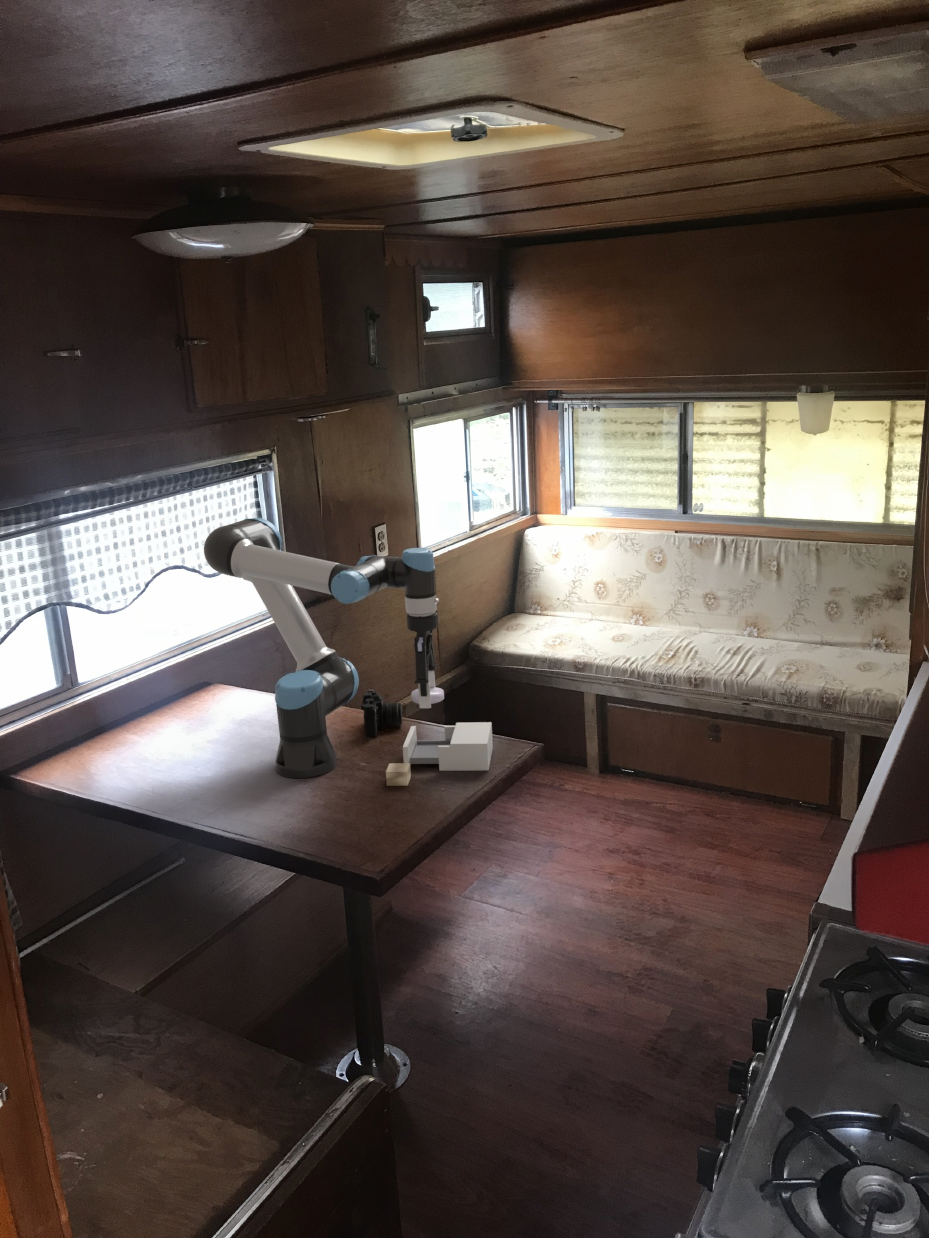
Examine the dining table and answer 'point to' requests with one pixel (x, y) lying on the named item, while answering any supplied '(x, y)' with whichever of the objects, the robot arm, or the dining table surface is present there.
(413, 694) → the lid
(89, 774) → the dining table surface
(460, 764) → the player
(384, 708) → the camera
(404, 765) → the beige block
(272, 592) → the robot arm
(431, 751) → the tray
